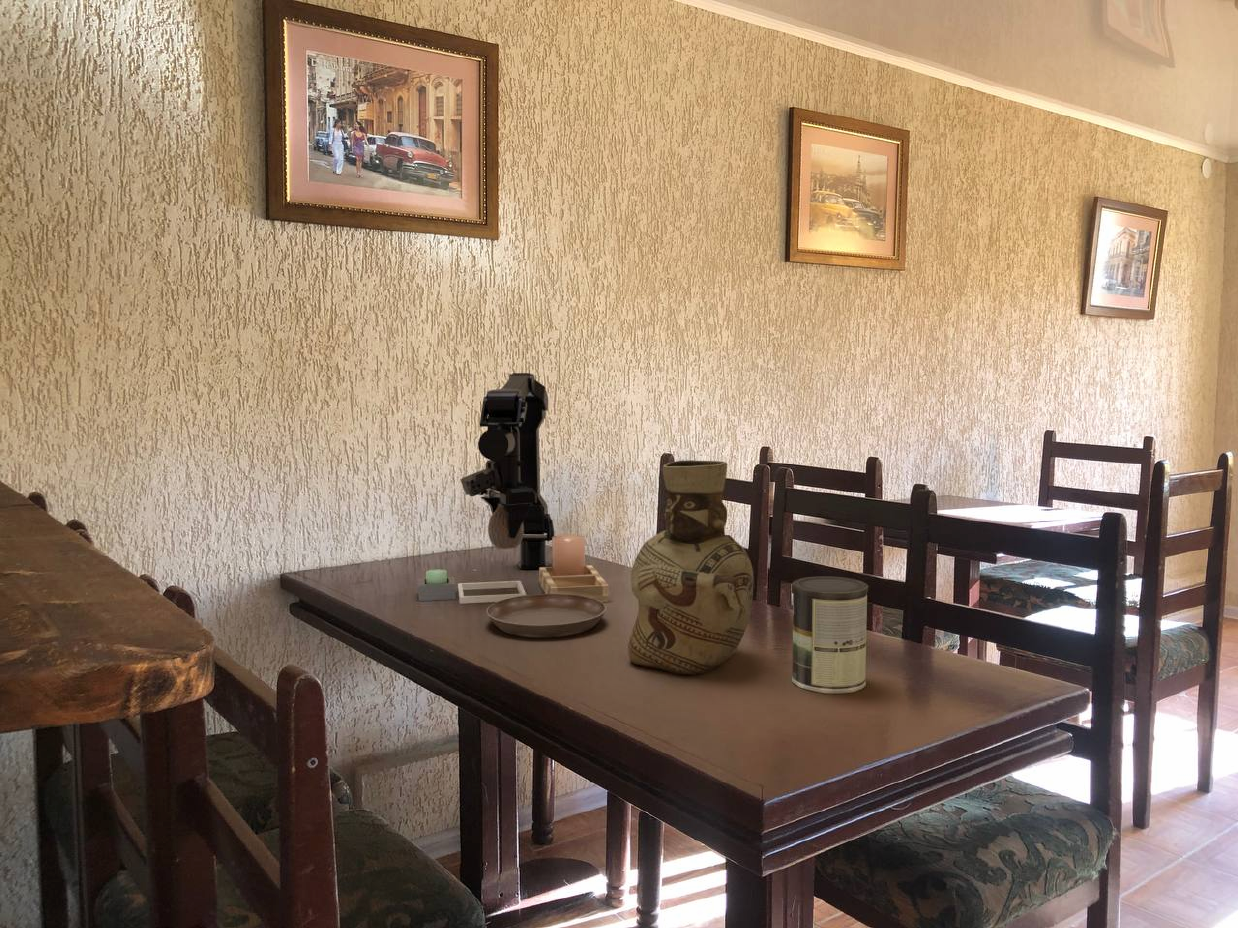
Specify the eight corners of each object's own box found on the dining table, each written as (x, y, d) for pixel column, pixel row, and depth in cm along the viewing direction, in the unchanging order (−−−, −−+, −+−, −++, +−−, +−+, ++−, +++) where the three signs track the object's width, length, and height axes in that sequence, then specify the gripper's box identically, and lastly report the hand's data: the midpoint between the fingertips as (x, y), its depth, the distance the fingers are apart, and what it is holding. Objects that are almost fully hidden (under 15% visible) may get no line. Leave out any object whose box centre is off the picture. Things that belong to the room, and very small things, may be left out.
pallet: (539, 582, 204) (539, 567, 204) (591, 580, 207) (591, 565, 206) (551, 604, 185) (551, 588, 185) (608, 602, 187) (608, 585, 187)
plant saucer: (591, 645, 159) (591, 625, 158) (469, 639, 163) (469, 619, 162) (617, 614, 179) (617, 596, 178) (508, 609, 183) (508, 591, 183)
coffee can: (777, 684, 138) (778, 585, 136) (813, 666, 146) (814, 572, 144) (845, 699, 131) (847, 595, 130) (878, 680, 139) (880, 582, 138)
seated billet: (550, 578, 203) (550, 535, 202) (582, 576, 204) (582, 533, 204) (554, 584, 197) (554, 540, 196) (587, 583, 198) (587, 539, 197)
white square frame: (457, 589, 199) (457, 583, 199) (520, 586, 201) (520, 580, 201) (459, 603, 186) (459, 597, 186) (526, 600, 189) (526, 594, 189)
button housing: (418, 593, 195) (418, 578, 195) (454, 591, 197) (454, 576, 197) (418, 601, 189) (418, 585, 188) (455, 599, 190) (455, 584, 190)
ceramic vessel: (660, 689, 136) (660, 472, 133) (608, 649, 155) (606, 460, 153) (781, 673, 143) (784, 467, 140) (716, 636, 162) (717, 455, 159)
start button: (426, 592, 194) (426, 569, 194) (447, 591, 195) (446, 568, 195) (426, 596, 190) (426, 573, 190) (447, 595, 191) (447, 572, 191)
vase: (526, 549, 190) (525, 503, 189) (490, 551, 188) (489, 505, 187) (521, 543, 196) (520, 500, 196) (486, 545, 195) (485, 501, 194)
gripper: (450, 453, 195) (452, 531, 197) (479, 461, 179) (481, 546, 180) (504, 451, 200) (505, 527, 202) (537, 458, 184) (538, 541, 185)
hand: (506, 535), depth 192 cm, fingers closed on vase, 7 cm apart
